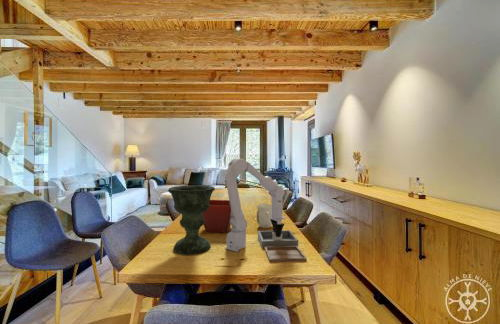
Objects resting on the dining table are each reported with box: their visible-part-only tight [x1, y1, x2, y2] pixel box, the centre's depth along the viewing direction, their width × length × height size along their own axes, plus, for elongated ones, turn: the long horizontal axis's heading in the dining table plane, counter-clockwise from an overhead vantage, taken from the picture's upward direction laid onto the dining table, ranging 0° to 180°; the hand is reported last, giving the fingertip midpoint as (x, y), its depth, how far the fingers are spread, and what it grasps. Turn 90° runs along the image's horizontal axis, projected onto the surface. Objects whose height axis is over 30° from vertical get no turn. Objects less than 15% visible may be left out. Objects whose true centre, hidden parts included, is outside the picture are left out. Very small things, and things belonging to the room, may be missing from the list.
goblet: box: [167, 184, 216, 256], centre depth 134 cm, size 22×23×30 cm
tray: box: [264, 245, 308, 263], centre depth 124 cm, size 16×16×2 cm
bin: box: [257, 229, 299, 249], centre depth 143 cm, size 18×18×4 cm
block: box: [272, 232, 282, 240], centre depth 143 cm, size 4×4×4 cm
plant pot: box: [202, 199, 232, 233], centre depth 168 cm, size 19×19×17 cm
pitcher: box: [256, 202, 272, 229], centre depth 174 cm, size 11×18×14 cm, turn 8°
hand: (276, 234), depth 143 cm, fingers open, 7 cm apart
